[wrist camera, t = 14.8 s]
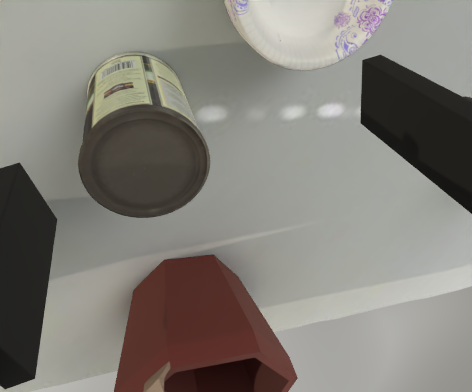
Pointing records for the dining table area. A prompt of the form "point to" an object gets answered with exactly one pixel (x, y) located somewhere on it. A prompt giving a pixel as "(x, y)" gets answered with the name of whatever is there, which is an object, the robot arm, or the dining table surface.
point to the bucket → (199, 334)
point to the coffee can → (140, 139)
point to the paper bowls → (306, 28)
